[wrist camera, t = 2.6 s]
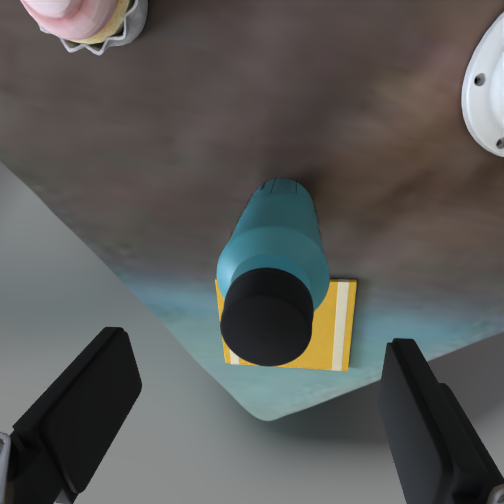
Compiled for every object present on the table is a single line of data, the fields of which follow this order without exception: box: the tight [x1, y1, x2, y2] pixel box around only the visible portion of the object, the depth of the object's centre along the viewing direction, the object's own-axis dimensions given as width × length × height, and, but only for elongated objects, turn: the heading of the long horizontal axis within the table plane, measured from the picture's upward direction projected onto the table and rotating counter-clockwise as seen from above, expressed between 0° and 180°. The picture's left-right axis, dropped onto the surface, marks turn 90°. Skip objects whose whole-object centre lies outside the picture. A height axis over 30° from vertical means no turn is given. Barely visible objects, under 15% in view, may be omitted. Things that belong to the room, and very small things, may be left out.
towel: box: [215, 277, 357, 371], centre depth 35 cm, size 16×13×1 cm
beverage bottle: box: [217, 177, 330, 366], centre depth 21 cm, size 6×7×20 cm
